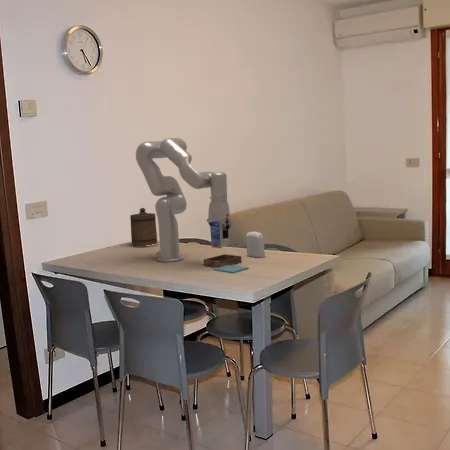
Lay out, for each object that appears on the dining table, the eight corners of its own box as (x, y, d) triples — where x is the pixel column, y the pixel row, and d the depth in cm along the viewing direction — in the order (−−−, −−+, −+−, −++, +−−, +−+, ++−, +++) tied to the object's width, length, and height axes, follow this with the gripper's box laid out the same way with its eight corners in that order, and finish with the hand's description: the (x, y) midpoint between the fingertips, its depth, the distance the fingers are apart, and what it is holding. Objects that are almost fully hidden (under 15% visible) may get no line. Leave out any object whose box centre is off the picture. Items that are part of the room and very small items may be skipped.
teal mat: (213, 270, 249) (213, 268, 248) (228, 266, 256) (228, 264, 256) (233, 273, 240) (233, 271, 240) (248, 268, 248) (248, 267, 248)
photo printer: (245, 255, 278) (244, 231, 277) (252, 254, 281) (250, 230, 279) (259, 258, 270) (258, 233, 269) (266, 256, 273) (265, 232, 271)
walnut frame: (203, 265, 259) (203, 259, 259) (224, 260, 270) (224, 254, 269) (220, 268, 252) (220, 261, 252) (241, 262, 263) (241, 256, 262)
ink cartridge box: (219, 243, 266) (219, 213, 264) (230, 244, 263) (229, 214, 261) (210, 247, 257) (209, 216, 255) (221, 248, 255) (220, 217, 252)
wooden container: (160, 242, 333) (157, 206, 331) (153, 247, 319) (151, 209, 316) (136, 243, 336) (133, 207, 333) (128, 247, 321) (125, 210, 318)
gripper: (200, 199, 260) (201, 236, 263) (227, 201, 248) (228, 240, 251) (211, 197, 266) (212, 234, 268) (238, 199, 254) (239, 238, 257)
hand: (220, 237), depth 260 cm, fingers closed on ink cartridge box, 6 cm apart
